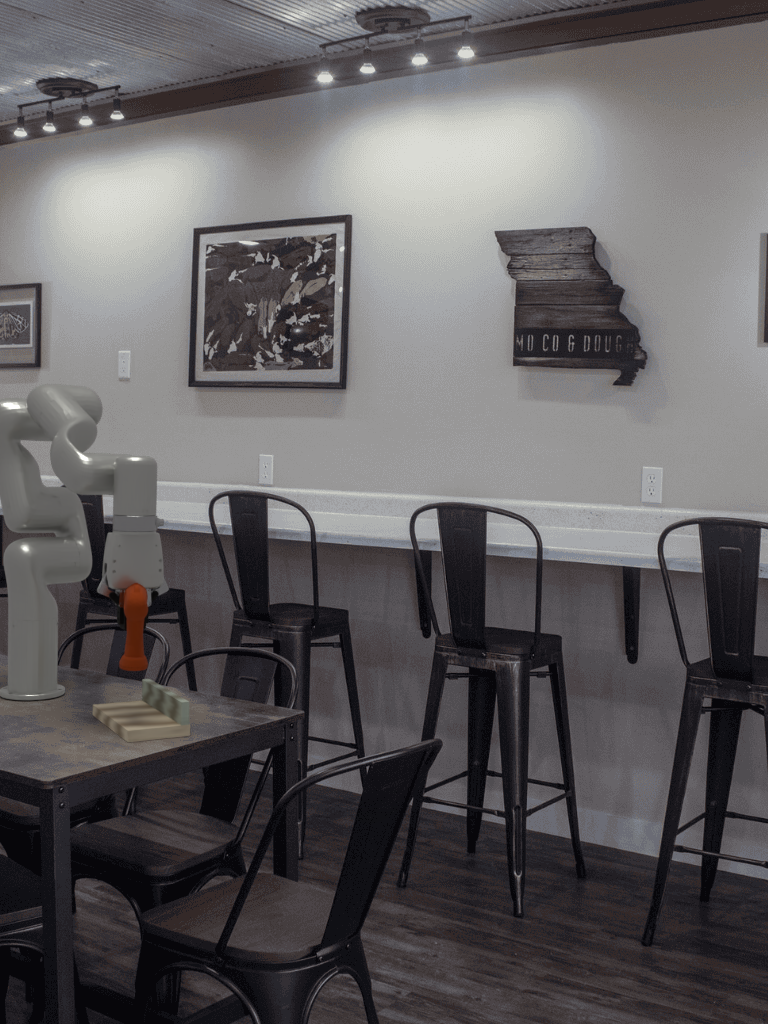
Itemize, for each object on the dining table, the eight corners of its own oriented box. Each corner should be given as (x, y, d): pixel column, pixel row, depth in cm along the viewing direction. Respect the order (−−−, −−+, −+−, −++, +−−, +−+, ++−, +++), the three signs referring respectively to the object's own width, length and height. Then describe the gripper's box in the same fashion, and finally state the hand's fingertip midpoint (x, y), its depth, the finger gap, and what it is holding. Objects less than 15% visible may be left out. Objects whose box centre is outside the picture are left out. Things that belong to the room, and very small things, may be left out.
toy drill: (145, 643, 206) (148, 566, 203) (148, 676, 188) (152, 591, 185) (118, 643, 205) (121, 565, 202) (119, 676, 187) (122, 590, 184)
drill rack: (92, 715, 204) (93, 683, 204) (149, 709, 210) (150, 678, 209) (127, 742, 185) (128, 707, 185) (190, 735, 191) (190, 701, 190)
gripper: (171, 523, 202) (169, 623, 202) (83, 524, 194) (81, 627, 194) (185, 526, 195) (183, 629, 196) (94, 527, 187) (92, 634, 188)
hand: (132, 627), depth 195 cm, fingers closed on toy drill, 2 cm apart
